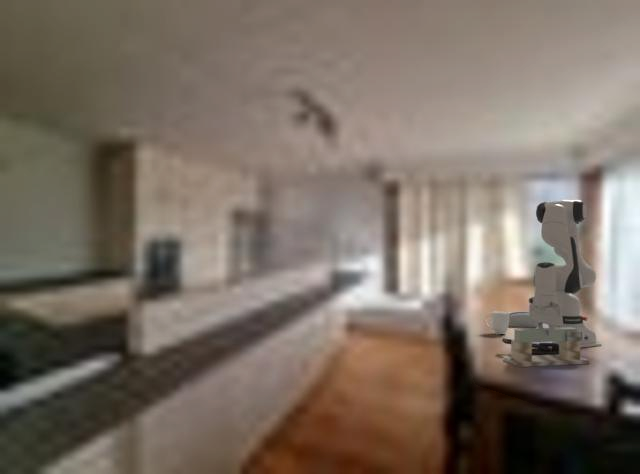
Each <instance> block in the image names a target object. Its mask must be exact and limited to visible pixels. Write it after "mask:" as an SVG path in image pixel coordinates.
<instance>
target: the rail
mask: <svg viewBox="0 0 640 474" xmlns="http://www.w3.org/2000/svg"><path fill="white" fill-rule="evenodd" d="M547 331H549V327H543V328H538V327H530V328H514V332H513V333H514V334H513V335H514V339H513V340H514V341H516V342H519V343H524V342H531V343H552V341H567V332H576V331H577V329H576V328H572V327H561V328H555V329H554V331H553V336H549V335H547Z"/></svg>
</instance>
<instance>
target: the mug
mask: <svg viewBox="0 0 640 474" xmlns="http://www.w3.org/2000/svg"><path fill="white" fill-rule="evenodd" d="M509 314H510V312H509V311H502V310H495V311H491V313H490V314H488V315H487V316H486V318H485V319H486V325H487V327H488V328H490V329H491V330H493V331H494V334H495V335H497V334H505V335H507V331H508V329H509V327H510V326H509ZM489 317H491V326H490V325H489V324H488V321H487V320H488V318H489Z"/></svg>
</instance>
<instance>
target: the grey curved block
mask: <svg viewBox="0 0 640 474" xmlns="http://www.w3.org/2000/svg"><path fill="white" fill-rule="evenodd" d="M508 327H514V328H515V327H517V328H519V327H520V328H522V327H523V328H538V326H537V321H534V320H531V319H530V316H529V311H526V310H525V311H524V310H521V311H519V310H518V311H517V310H516V311H513V312H512V311H511V312H509V326H508Z"/></svg>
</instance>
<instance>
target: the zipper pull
mask: <svg viewBox="0 0 640 474" xmlns="http://www.w3.org/2000/svg"><path fill="white" fill-rule="evenodd" d="M511 340H512V339H510V338H503V337H502V340H501V341H502V342H503V343H504V344H506V345H511ZM531 343H532V356H534V355H558V354H559V345H558V344H557V343H552V342H538V343H535V342H531ZM550 347H551V348H550Z"/></svg>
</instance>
